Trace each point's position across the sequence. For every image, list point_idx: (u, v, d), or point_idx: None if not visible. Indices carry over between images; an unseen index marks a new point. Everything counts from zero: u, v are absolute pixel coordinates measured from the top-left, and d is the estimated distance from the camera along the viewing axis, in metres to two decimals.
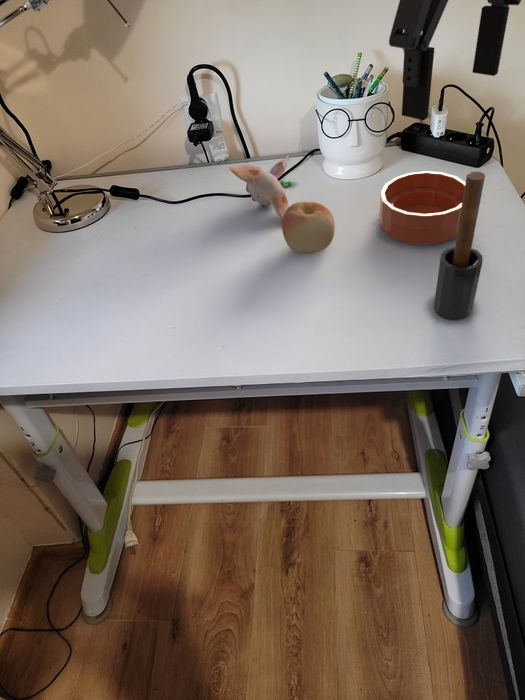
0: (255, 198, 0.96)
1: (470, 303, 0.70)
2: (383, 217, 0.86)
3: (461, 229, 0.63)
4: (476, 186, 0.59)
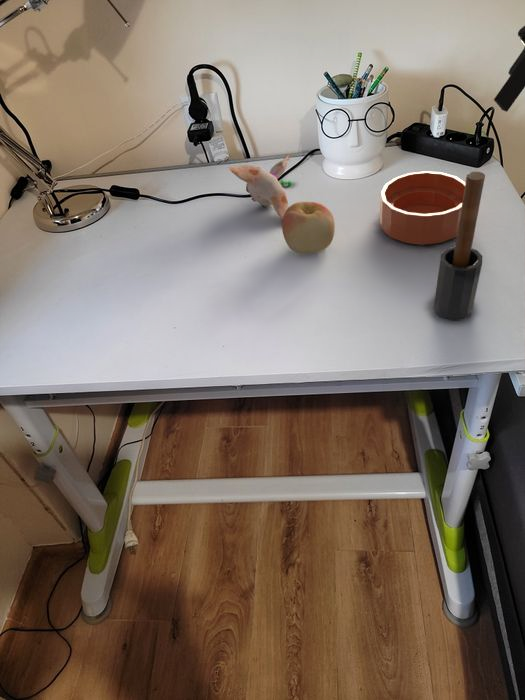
0: (255, 198, 0.96)
1: (470, 303, 0.70)
2: (383, 217, 0.86)
3: (461, 229, 0.63)
4: (476, 186, 0.59)
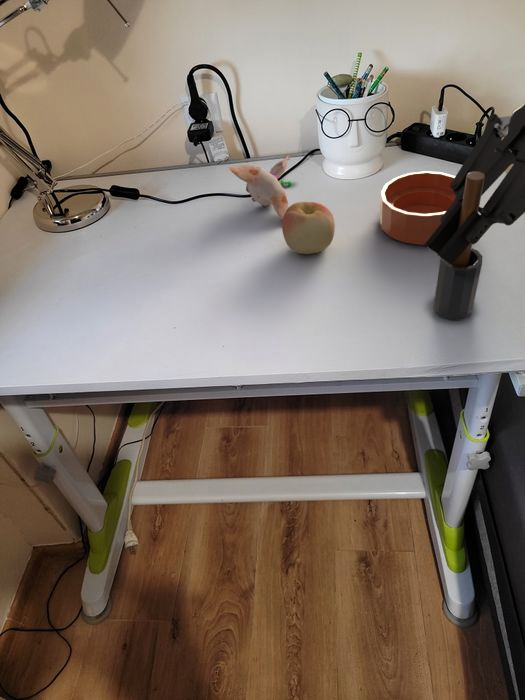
0: (255, 198, 0.96)
1: (470, 303, 0.70)
2: (383, 217, 0.86)
3: None
4: (476, 186, 0.59)
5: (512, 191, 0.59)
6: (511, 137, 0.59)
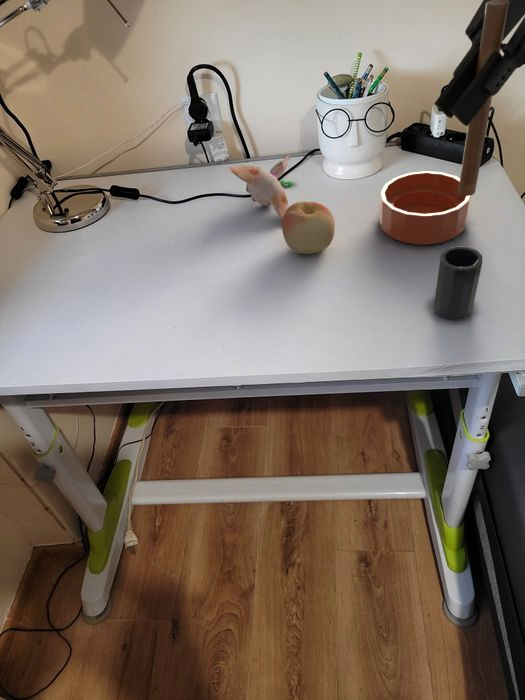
0: (255, 198, 0.96)
1: (470, 303, 0.70)
2: (383, 217, 0.86)
3: None
4: (498, 15, 0.49)
5: None
6: None
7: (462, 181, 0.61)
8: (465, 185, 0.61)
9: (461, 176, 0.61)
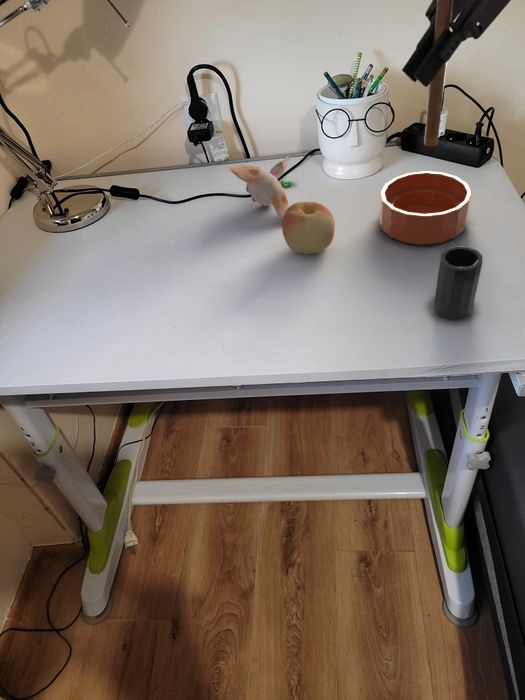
0: (255, 198, 0.96)
1: (470, 303, 0.70)
2: (383, 217, 0.86)
3: None
4: None
5: None
6: None
7: (426, 134, 0.77)
8: (429, 137, 0.77)
9: (426, 130, 0.77)
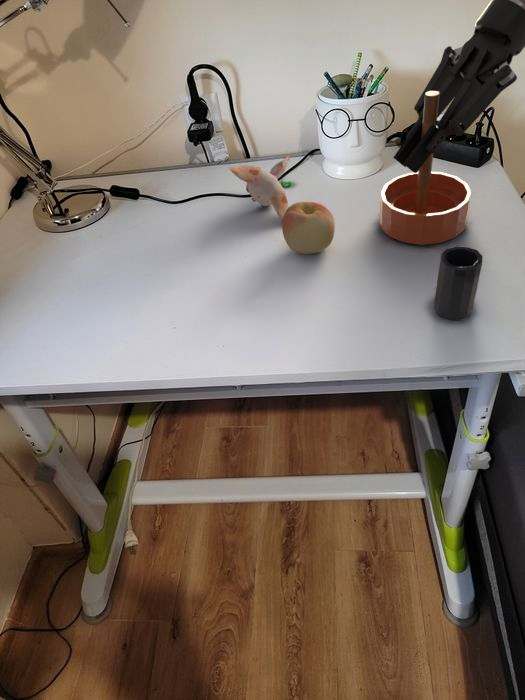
0: (255, 198, 0.96)
1: (470, 303, 0.70)
2: (383, 217, 0.86)
3: None
4: (432, 102, 0.72)
5: (462, 107, 0.73)
6: (461, 62, 0.72)
7: (416, 209, 0.85)
8: (418, 212, 0.85)
9: (415, 206, 0.85)
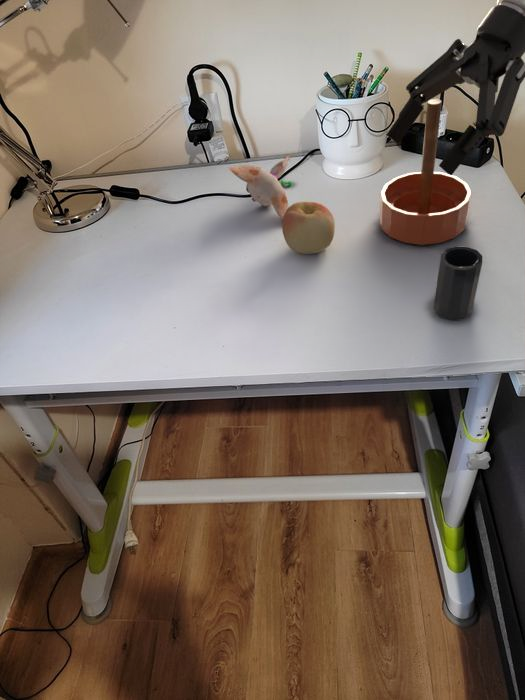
0: (255, 198, 0.96)
1: (470, 303, 0.70)
2: (383, 217, 0.86)
3: (425, 148, 0.79)
4: (435, 110, 0.75)
5: (490, 105, 0.71)
6: (459, 63, 0.75)
7: None
8: None
9: (418, 209, 0.87)
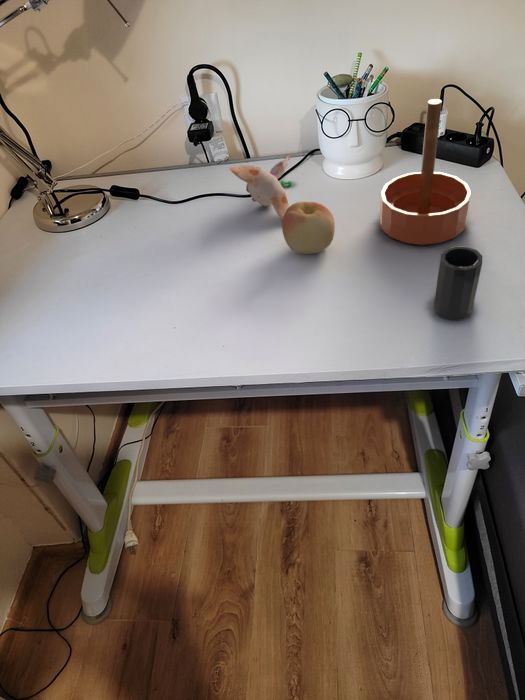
0: (255, 198, 0.96)
1: (470, 303, 0.70)
2: (383, 217, 0.86)
3: (425, 148, 0.79)
4: (435, 110, 0.75)
5: None
6: None
7: None
8: None
9: (418, 209, 0.87)
